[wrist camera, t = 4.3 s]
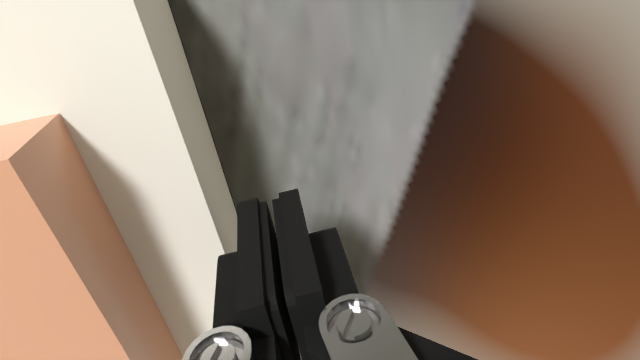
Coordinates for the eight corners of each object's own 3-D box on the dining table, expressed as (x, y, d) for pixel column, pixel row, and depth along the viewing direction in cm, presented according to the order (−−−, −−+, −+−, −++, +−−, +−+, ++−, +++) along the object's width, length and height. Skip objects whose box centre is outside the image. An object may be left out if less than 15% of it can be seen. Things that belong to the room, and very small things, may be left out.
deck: (-380, 49, 11) (-663, 94, 8) (151, -52, 12) (114, -53, 8) (-42, 391, 19) (-107, 492, 15) (269, 314, 19) (275, 393, 16)
